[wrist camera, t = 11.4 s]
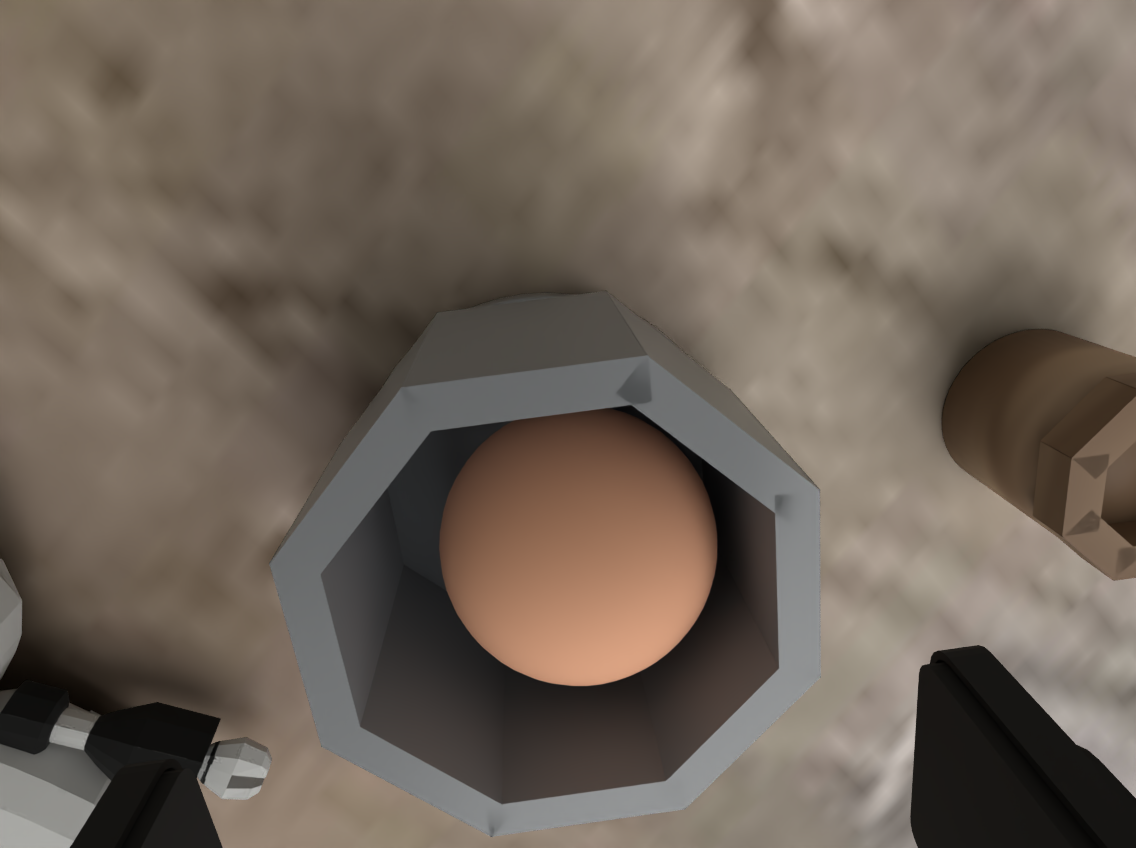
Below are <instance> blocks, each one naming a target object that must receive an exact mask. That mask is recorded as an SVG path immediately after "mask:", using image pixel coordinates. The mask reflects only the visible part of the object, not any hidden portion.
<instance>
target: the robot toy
mask: <svg viewBox="0 0 1136 848" xmlns="http://www.w3.org/2000/svg"><path fill="white" fill-rule="evenodd" d="M21 635H22V599H21V597H20V595H19V593H18V591H17V589H16V587H15V585H14V582H13V580H12V578H11V576H10V574H9V572H8V570H7V568H6V565H5V563H4V561H3V560H2V559H1V558H0V680H1V678H2V676H3V674H4V672H5V671H6V669H7V667H8V665H9V663H10V661H11V659H12V658H13V656H14V654H15V652H16V650H17V647H18V644H19V641H20V638H21ZM219 722H220V718H216V717H213V716H209V715H205V714H201V713H197V712H193V711H189V710H186V709H182V708H178V707H174V706H170V705H166V704H163V703H159V702H156V703H151V704H147V705H142V706H137V707H133V708H128V709H123V710H120V711H116V712H113V713H109V714H105V715H102V716H101V715H99V714H97V713H96V712H94V711H92V710H91V711H90V712H88V711H86V710H84V709H82V708H80V707H78V706H75V705H73V704H71V703H69V696H68V691H67V690H65V689H61V688H57V687H53V686H49V685H45V684H41V683H37V682H33V681H29V680H25V681H24V682H23V683H22V684H21V686H20V687H19V688H18V689H11V690H4V691H0V848H70V846H71V845H72V843H73V842H74V840H75V838H76V837H77V835H78V834H79V832H80V830H81V829H82V827H83V826H84V824H85V822H86V821H87V819H88V817H89V816H90V814H91V813H92V811H93V809H94V808H95V806H96V805H97V803H98V801H99V800H100V798H101V797H102V795H103V793H104V792H105V790H106V789H107V787H108V785H109V784H110V782H111V781H112V779H113V777H114V776H115V774H116V773H117V772H118V771H119V769H120V768H122V767H123V766H125V765H128V764H135V763H142V762H149V761H156V760H163V759H175V760H177V761H178V762H179V763H180V765H181V767H182V769H191V770H192V771H193V772H194V774H195V776H196V778H197V776H198V778H199V780H200V781H201V782H202V783H203V784H204V785H205V786H206V787H208V788H209V789H210V790H211V791H213V792H214V793H215V794H216V795H218V796H219V797H220V798H221V799H243V800H247V799H249V798H250V797H252V796H254V795H255V794H257V793H258V792H259V791H260V788H261V786H262V783H263V780H264V778H265V777H266V775H267V773H268V770H269V767H270V764H271V761H272V758H271V755H270V752H269V750H268V748H267V747H265V746H263V745H261V744H259V743H257V742H255V741H253V740H251V739H249V738H247V737H244V738H237V739H231V740H224V741H218V742H215V743H213V744H211V742H212V739H213V737H214V734H215V732H216V729H217V727H218V724H219ZM210 744H211V745H210Z"/></svg>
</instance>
